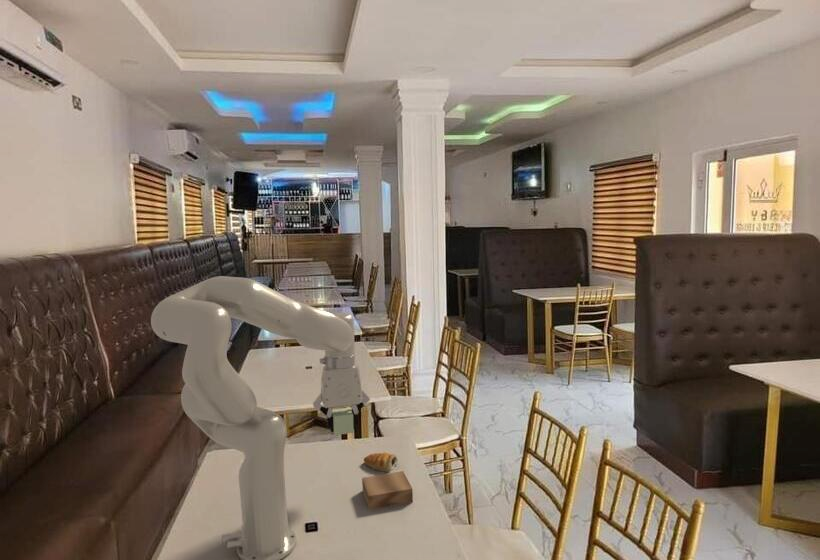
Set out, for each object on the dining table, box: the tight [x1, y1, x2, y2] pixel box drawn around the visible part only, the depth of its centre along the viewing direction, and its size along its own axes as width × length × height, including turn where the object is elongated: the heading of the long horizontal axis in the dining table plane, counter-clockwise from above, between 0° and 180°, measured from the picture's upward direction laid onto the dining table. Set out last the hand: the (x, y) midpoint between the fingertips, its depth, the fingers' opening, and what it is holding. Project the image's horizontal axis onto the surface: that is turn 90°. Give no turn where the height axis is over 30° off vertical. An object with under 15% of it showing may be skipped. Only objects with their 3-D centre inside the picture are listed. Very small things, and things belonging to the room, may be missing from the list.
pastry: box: [363, 451, 399, 473], centre depth 154 cm, size 9×7×4 cm
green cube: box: [332, 406, 355, 436], centre depth 141 cm, size 5×5×5 cm
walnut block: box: [361, 470, 414, 511], centre depth 137 cm, size 11×9×4 cm
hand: (342, 428), depth 141 cm, fingers closed on green cube, 5 cm apart
